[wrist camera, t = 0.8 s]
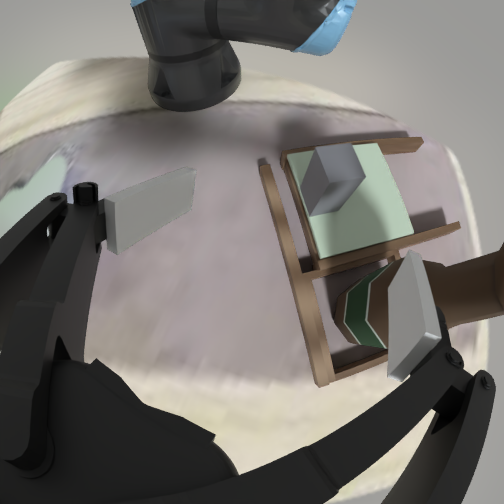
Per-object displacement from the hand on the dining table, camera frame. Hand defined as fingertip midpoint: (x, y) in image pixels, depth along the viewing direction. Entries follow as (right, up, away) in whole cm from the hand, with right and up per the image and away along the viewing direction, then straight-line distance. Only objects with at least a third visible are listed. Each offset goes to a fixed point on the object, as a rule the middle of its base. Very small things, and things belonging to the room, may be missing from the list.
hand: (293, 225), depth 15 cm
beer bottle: (+11, -9, +15) cm, 21 cm away
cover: (+9, +5, +15) cm, 19 cm away
